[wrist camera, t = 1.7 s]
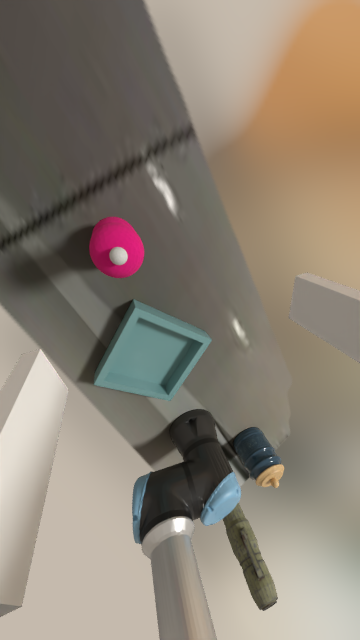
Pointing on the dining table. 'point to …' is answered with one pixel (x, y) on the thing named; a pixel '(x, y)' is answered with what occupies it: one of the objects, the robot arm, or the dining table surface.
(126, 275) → the pepper mill
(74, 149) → the dining table surface
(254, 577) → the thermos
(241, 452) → the canister
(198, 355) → the tray
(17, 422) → the robot arm
